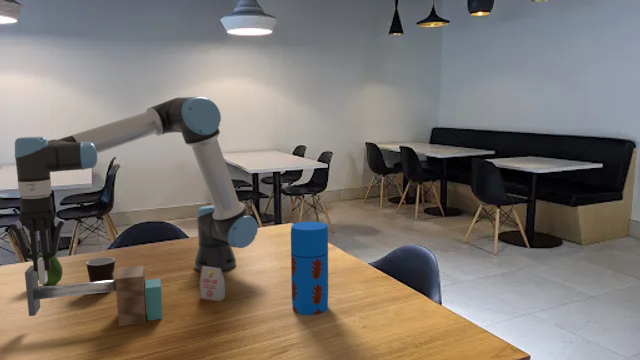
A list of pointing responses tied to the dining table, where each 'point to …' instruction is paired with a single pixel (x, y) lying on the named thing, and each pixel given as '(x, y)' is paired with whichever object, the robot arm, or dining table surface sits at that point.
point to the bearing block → (131, 295)
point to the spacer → (153, 299)
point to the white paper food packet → (211, 284)
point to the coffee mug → (101, 269)
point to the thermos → (309, 267)
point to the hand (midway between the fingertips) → (43, 282)
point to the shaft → (60, 290)
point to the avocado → (53, 271)
